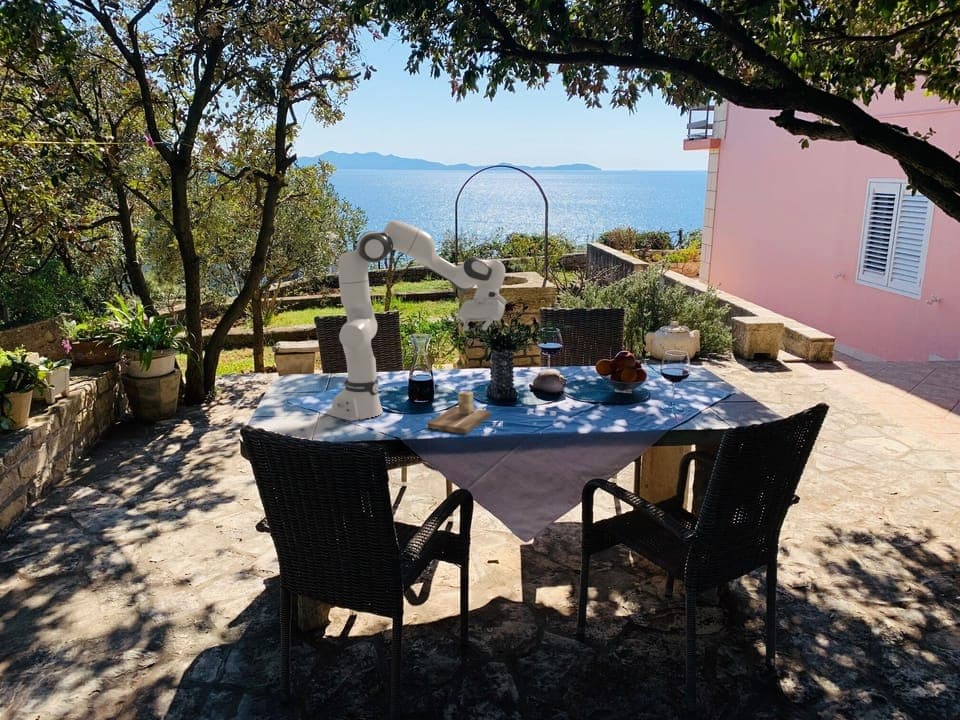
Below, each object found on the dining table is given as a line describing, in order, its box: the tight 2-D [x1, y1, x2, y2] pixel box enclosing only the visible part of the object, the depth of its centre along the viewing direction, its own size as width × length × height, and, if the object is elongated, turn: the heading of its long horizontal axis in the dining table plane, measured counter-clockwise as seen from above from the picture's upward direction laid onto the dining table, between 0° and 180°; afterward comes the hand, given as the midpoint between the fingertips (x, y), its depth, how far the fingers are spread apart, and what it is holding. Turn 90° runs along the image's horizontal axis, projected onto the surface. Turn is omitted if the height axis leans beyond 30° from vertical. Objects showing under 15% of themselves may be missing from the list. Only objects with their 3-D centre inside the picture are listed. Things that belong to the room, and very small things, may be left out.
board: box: [427, 405, 492, 435], centre depth 259 cm, size 16×21×2 cm
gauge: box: [457, 390, 475, 415], centre depth 263 cm, size 6×4×8 cm, turn 65°
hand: (474, 329), depth 263 cm, fingers open, 8 cm apart
